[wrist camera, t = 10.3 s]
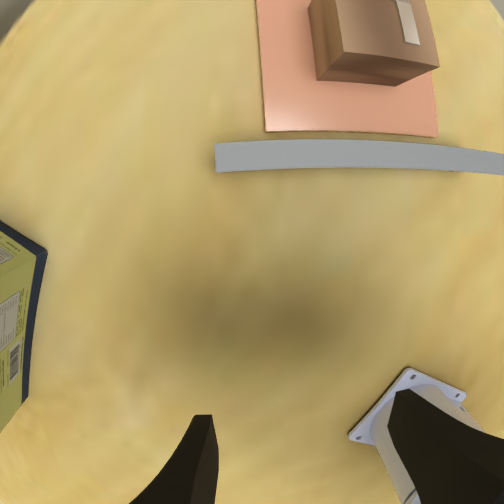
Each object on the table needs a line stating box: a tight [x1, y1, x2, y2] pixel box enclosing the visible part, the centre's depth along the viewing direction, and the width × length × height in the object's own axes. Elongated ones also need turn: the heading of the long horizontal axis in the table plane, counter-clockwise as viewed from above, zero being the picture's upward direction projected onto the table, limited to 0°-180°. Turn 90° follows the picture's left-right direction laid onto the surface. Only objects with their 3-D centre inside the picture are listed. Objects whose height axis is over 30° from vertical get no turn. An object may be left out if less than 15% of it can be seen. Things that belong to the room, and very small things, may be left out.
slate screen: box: [214, 139, 504, 175], centre depth 15 cm, size 16×1×5 cm, turn 93°
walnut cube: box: [308, 0, 440, 87], centre depth 13 cm, size 5×5×5 cm
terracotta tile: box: [256, 0, 438, 138], centre depth 16 cm, size 11×11×1 cm
